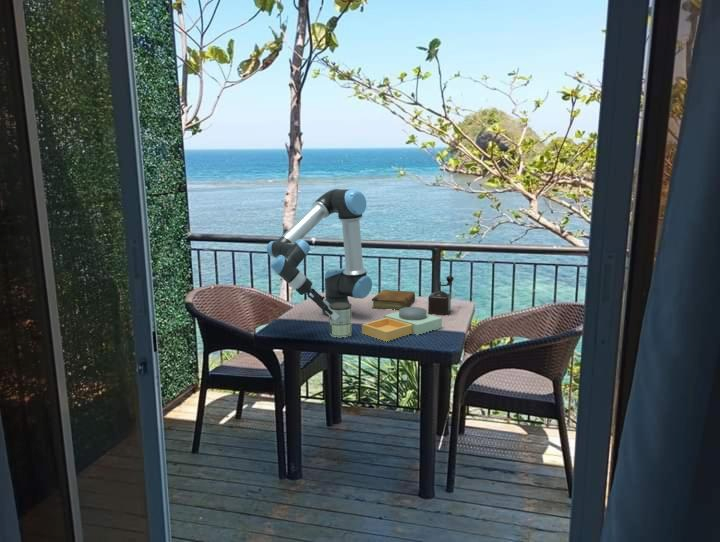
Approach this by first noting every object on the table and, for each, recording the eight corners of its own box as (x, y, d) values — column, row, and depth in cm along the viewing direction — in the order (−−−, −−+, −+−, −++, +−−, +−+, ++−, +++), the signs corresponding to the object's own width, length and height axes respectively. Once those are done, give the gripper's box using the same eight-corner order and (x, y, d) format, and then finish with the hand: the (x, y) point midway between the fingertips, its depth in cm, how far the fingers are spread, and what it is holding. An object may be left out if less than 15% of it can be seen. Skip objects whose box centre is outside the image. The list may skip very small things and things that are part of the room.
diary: (405, 312, 303) (405, 301, 302) (371, 309, 309) (371, 299, 307) (414, 301, 325) (415, 291, 323) (382, 299, 330) (382, 289, 329)
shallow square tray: (361, 333, 265) (361, 324, 264) (387, 326, 275) (387, 317, 275) (386, 342, 253) (386, 332, 252) (412, 334, 263) (412, 324, 262)
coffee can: (325, 333, 265) (324, 304, 262) (343, 329, 271) (342, 300, 268) (338, 339, 257) (337, 308, 254) (356, 334, 263) (356, 305, 260)
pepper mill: (449, 316, 293) (449, 281, 289) (427, 314, 296) (428, 280, 293) (453, 308, 307) (454, 275, 304) (433, 306, 311) (433, 274, 307)
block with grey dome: (384, 325, 278) (384, 309, 276) (408, 318, 289) (408, 303, 287) (417, 335, 262) (417, 318, 260) (441, 328, 272) (442, 311, 271)
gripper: (292, 283, 267) (325, 313, 273) (297, 296, 243) (332, 328, 249) (303, 271, 267) (336, 301, 273) (309, 283, 243) (344, 315, 249)
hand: (334, 314), depth 261 cm, fingers open, 13 cm apart
